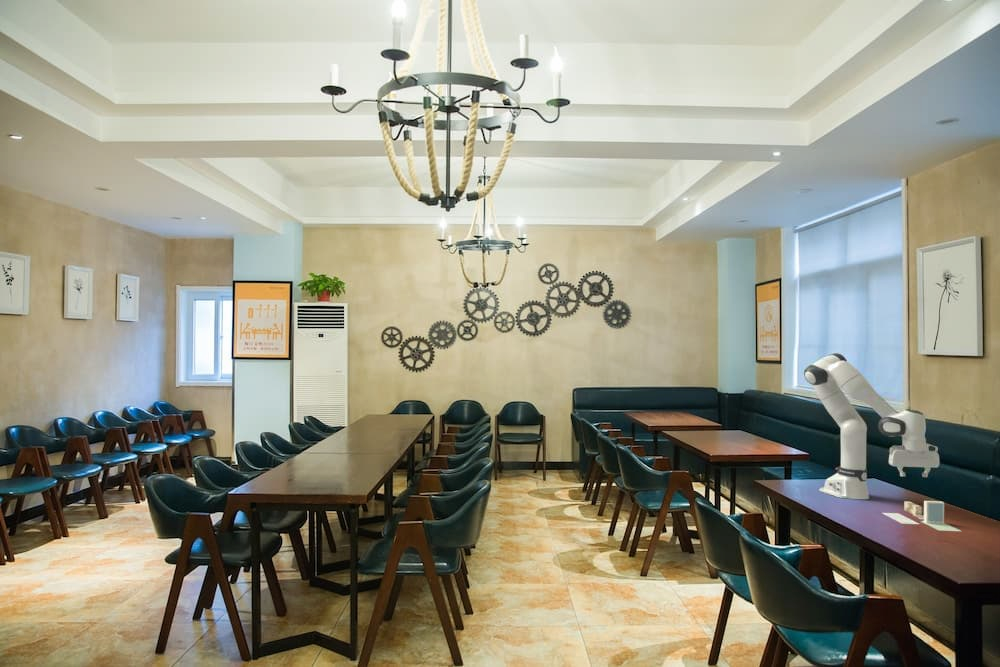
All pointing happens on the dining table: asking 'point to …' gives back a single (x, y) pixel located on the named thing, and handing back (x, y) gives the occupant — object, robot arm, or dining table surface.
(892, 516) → the pad
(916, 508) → the turner
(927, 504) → the tile
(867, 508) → the dining table surface
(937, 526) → the mat
